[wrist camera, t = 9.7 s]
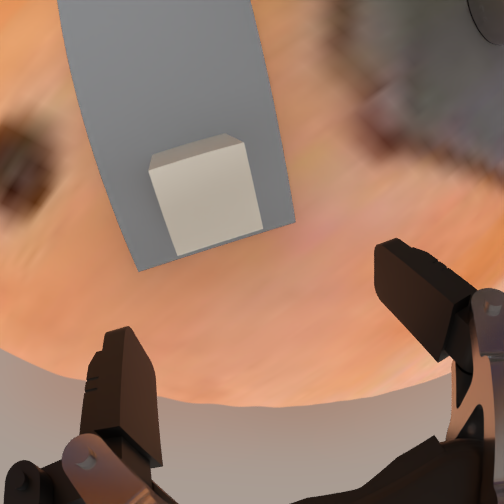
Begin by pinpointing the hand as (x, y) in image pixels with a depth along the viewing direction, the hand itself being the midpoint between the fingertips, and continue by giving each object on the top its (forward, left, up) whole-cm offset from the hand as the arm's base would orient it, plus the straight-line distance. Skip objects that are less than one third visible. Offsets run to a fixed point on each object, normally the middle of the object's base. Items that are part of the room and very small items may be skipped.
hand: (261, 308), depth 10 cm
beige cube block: (0, 0, -16) cm, 16 cm away
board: (0, -7, -18) cm, 19 cm away
